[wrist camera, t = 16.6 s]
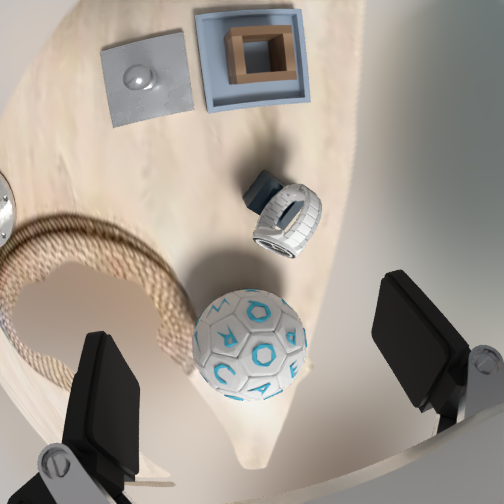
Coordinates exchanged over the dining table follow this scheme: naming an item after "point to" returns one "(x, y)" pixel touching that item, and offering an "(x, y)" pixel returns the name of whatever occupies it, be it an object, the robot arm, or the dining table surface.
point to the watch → (282, 214)
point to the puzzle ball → (249, 344)
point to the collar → (277, 46)
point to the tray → (249, 60)
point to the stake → (147, 79)
